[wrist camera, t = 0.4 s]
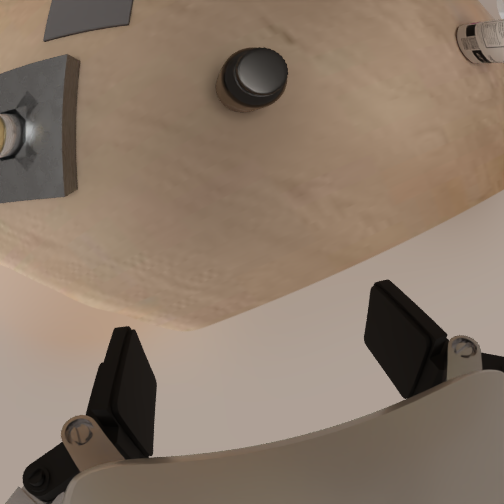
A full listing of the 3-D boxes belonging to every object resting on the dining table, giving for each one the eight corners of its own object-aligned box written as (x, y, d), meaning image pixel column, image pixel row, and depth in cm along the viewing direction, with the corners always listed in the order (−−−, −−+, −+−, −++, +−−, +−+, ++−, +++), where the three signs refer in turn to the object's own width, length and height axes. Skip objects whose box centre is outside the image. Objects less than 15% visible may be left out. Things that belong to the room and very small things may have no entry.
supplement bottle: (231, 122, 35) (245, 118, 24) (206, 77, 32) (209, 55, 21) (278, 99, 35) (310, 88, 24) (254, 55, 32) (277, 27, 21)
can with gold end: (6, 117, 27) (-28, 119, 19) (36, 109, 28) (3, 108, 20) (6, 156, 29) (-28, 165, 22) (36, 150, 30) (3, 158, 23)
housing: (-15, 87, 24) (-31, 86, 20) (80, 60, 28) (67, 54, 24) (-13, 199, 31) (-29, 207, 27) (77, 189, 35) (64, 196, 31)
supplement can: (464, 20, 31) (519, 12, 18) (483, 54, 34) (539, 53, 21) (449, 34, 33) (509, 25, 19) (470, 70, 36) (530, 71, 22)
